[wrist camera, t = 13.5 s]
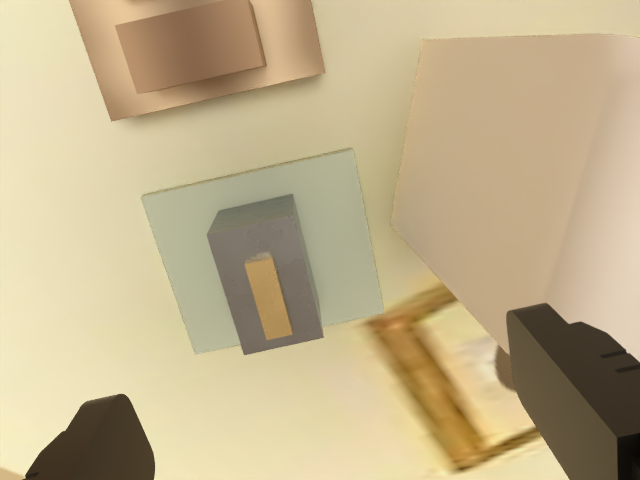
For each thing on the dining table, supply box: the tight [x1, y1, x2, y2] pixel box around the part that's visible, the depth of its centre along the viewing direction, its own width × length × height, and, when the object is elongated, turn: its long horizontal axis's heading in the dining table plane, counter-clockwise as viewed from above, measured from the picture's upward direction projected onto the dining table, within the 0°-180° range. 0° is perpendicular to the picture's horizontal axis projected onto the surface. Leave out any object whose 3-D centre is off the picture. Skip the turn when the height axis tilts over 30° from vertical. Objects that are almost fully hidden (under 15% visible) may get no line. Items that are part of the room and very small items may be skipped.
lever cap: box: [207, 194, 324, 355], centre depth 31 cm, size 5×8×6 cm, turn 12°
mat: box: [141, 148, 384, 355], centre depth 34 cm, size 14×12×1 cm
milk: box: [390, 34, 640, 362], centre depth 21 cm, size 12×12×26 cm
